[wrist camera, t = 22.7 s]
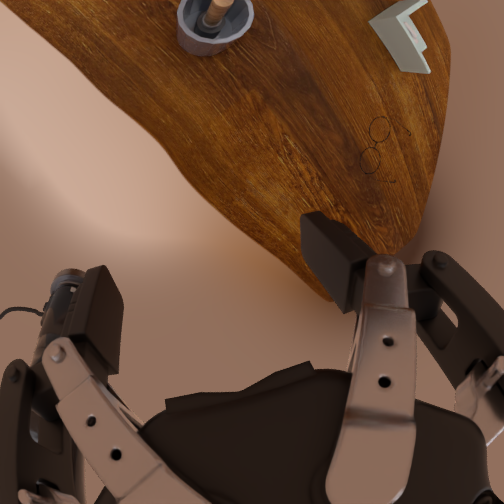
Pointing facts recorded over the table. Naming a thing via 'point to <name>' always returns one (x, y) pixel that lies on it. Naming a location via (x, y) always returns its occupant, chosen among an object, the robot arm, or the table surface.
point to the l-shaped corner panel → (402, 35)
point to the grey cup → (235, 26)
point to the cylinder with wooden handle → (212, 19)
